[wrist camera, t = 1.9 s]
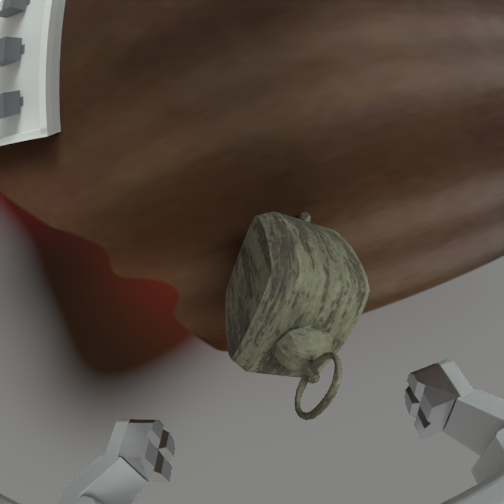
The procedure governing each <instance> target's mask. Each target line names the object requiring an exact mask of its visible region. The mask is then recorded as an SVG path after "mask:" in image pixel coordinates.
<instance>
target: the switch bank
mask: <svg viewBox="0 0 504 504" xmlns="http://www.w3.org/2000/svg"><path fill="white" fill-rule="evenodd" d="M65 1H66V0H27V3H26V9H25V11H23V12H20V13H18V14H15V15H13V16H11V17H8V18H3V17H0V39H1V38H3V37H16V38H22V44H21V59H20V60H19V61H16V62H14V63H11V64H8V65H5V66H3V67H0V94H1V93H5V92H12V91H18V90H20V114H16V115H12V116H9V117H5V118H2V119H0V146H3V145H7V144H12V143H16V142H21V141H26V140H31V139H37V138H42V137H48V136H50V135H53V134H55V133H58V132H61V128H60V104H59V72H60V49H61V35H62V25H63V16H64V8H65Z"/></svg>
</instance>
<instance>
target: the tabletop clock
mask: <svg viewBox="0 0 504 504" xmlns="http://www.w3.org/2000/svg"><path fill="white" fill-rule="evenodd" d="M310 220H311V216H310V215H309V213H307V212H302V213H301V214H300V215H299V219H298V218H294V217H291V216H288V215H285V214H281V213H278V212H269V213H265V214H261V215H257V216H255V217H254V219H253V221H252V223H251V225H250V227H249V229H248V232H247V234H246V237H245V239H244V242H243V244H242V247H241V249H240V252H239V254H238V257H237V260H236V263H235V265H234V268H233V271H232V274H231V277H230V279H229V283H228V286H227V290H226V297H225V320H226V335H227V346H228V352H229V355H230V358H231V359H232V360H233V361H234V362H235V363H237V364H238V365H239V366H240V367H242V368H243V369H244V370H245V371H248V372H255V373H263V374H272V375H281V376H291V377H302V378H301V380H300V383H299V385H298V388H297V391H296V396H295V410H296V412H297V414H298V416H299V417H300V418H302V419H305V420H308V419H314V418H315V417H316V416H318V415H319V414H321V413H322V412H323V411H324V410H325V408H327V407H328V405H329V404H330V403H331V401H332V400H333V398H334V397H335V395H336V393H337V390H338V388H339V385H340V380H341V375H342V368H341V361H340V359H339V357H338V356H337V355H336V353H337V352H338V351H339V350H340V348H341V347H342V345H343V344H344V342H345V341H346V339H347V337H348V336H349V334H350V333H351V331H352V329H353V328H354V326H355V325H356V323H357V321H358V319H359V318H360V316H361V314H362V312H363V310H364V307H365V305H366V302H367V299H368V296H369V292H370V290H369V284H368V279H367V276H366V273H365V271H364V268H363V266H362V264H361V262H360V260H359V259H358V257H357V255H356V254H355V252H354V250H353V249H352V247H351V246H350V244H349V243H348V242H347V241H346V240H345V239H344V238H343V237H342V236H341V235H340V234H339V233H337V232H336V231H334V230H332V229H329V228H326V227H323V226H320V225H317V224H313V223H310ZM331 359H333V360H334V363H335V370H334V376H333V381H332V384H331V386H330V388H329V390H328V392H327V394H326V395H325V397H324V398H323V399H322V401H321V402H320V403H319V404H318V405H317V406H316V407H315V408H314V409H313V410H312V411H311V412H308V413H305V412H303V411H302V410H301V408H300V399H301V396H302V393H303V391H304V389H305V387H306V385H307V383H308V382H310V383H316V382H318V380H319V378H320V376H319V372H321V370H322V369H323V368H324V367H325V366H326V365H327V364H328V362H329V361H330V360H331Z"/></svg>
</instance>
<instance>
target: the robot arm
mask: <svg viewBox="0 0 504 504" xmlns="http://www.w3.org/2000/svg"><path fill="white" fill-rule="evenodd" d="M407 382H408V383H409V386H408V387H407V389H406V390H405V403H406V407H407V410H408V412H409V414H410V415H411V416H413V417H415V418H416V421H415V424H414V425H415V427H416V429H417V432H418V434H419V436H420V438H421V439H423V438H426V437H428V436H431V435H433V434H436V433H438V432H441V431H443V430H444V431H443V432H444V433H446V434H447V435H449V436H451V437H452V438H453V439H455V440H457V441H458V442H460V443H461V444H463V445H465V446H466V447H467V448H469V449H471V450H472V451H474V452H475V453H477V454H478V455H480V458H479V459H478V461H477V462H476V463H475V465H474V466H473V468H472V470H471V471H472V473H473V475H474V478H475V480H476V482H477V485H475V486H474V487H472V488H470V489H468V490H466V491H465V492H462V493H460V494H459V495H457V496H455V497H453V498H451V499H448V500H446V501H444V502H442V503H440V504H504V400H503V399H501V398H498V397H496V396H493V395H491V394H489V393H486V392H484V391H482V390H479V389H475V390H473V388H472V387H471V386H470V384H469V383H468V381H467V380H466V378H465V377H464V375H463V374H462V373H461V371H460V370H459V369H458V367H457V366H456V364H455V363H454V362H453V360H452V359H450V358H448V359H446V360H443V361H441V362H438V363H436V364H432V365H430V366H427V367H425V368H422V369H420V370H417V371H414V372H412V373H410V374H409V375H408V379H407ZM163 426H164V425H163V424H162V423H161V421H160V420H134V419H119V420H118V421H117V422H116V424H115V427H114V430H113V433H112V435H111V438H110V441H109V444H108V447H107V450H106V453H105V455H101V456H100V457H99V458H97V459H96V460H95V461H94V462H93V463H92V464H91V465H90V466H88V467H87V468H86V469H85V470H84V471H82V472H81V473H80V474H79V475H78V476H77V477H76V478H74V479H73V480H72V481H71V482H70V483H68V484H67V485H66V486H65V487H64V488H62V490H61V492H60V496H59V498H58V502H57V504H131V503H132V502H133V501H134V499H135V498H136V497H137V495H138V494H139V493H140V492H141V491H142V489H143V488H144V487H145V486H146V485H147V483H148V482H147V481H152V482H170V476H171V470H172V466H171V464H170V463H169V461H170V460H171V459H172V458H173V456H174V451H175V447H174V441H173V438H172V436H171V435H170V433H169V432H167V431H165V430H163ZM0 504H20V503H18V502H16V501H14V500H12V499H10V498H8V497H6V496H4V495H2V494H0Z"/></svg>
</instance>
